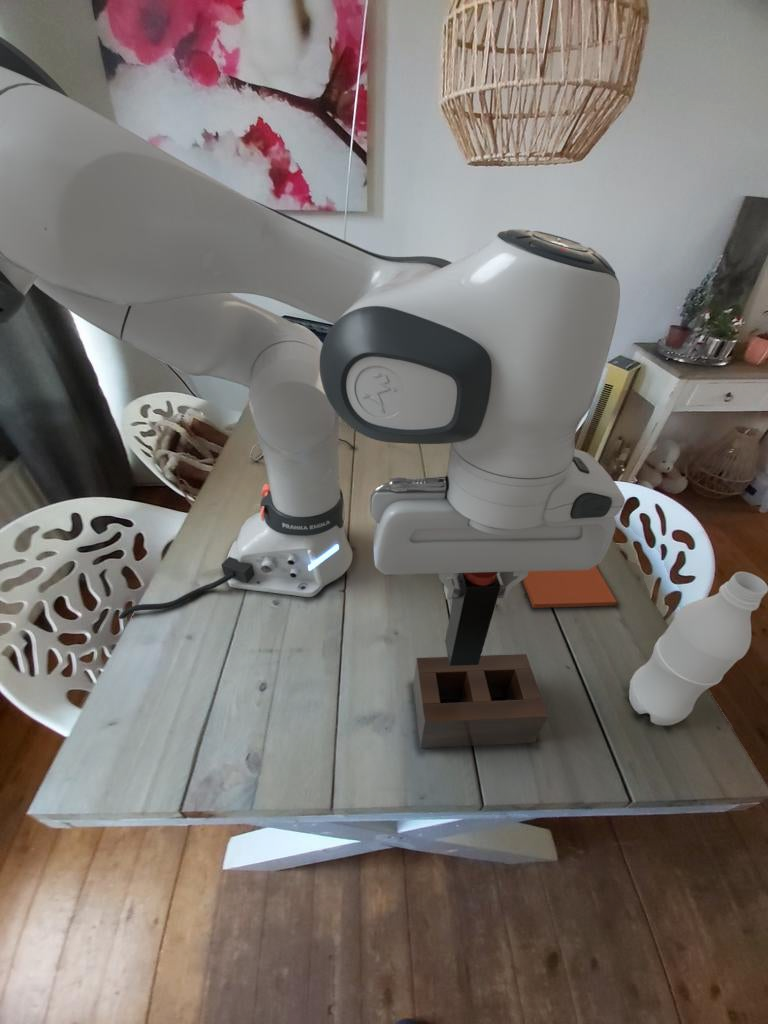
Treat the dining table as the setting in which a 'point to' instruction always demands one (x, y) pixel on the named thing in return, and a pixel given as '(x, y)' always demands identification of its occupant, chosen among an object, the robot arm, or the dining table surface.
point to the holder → (477, 702)
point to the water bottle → (697, 650)
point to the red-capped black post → (471, 617)
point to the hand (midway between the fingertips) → (475, 593)
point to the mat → (568, 589)
